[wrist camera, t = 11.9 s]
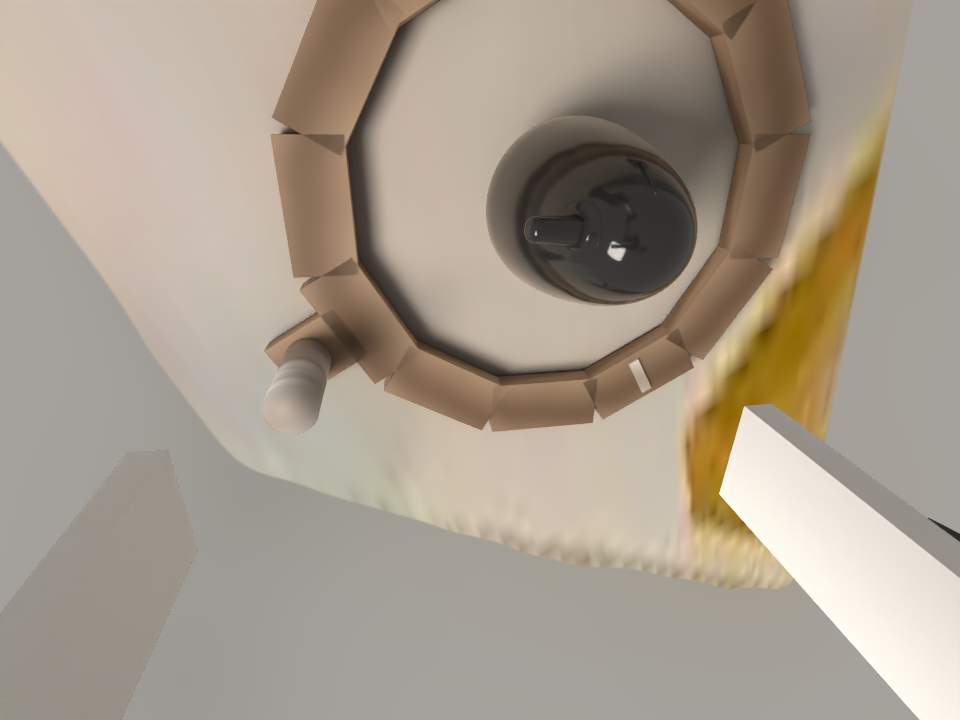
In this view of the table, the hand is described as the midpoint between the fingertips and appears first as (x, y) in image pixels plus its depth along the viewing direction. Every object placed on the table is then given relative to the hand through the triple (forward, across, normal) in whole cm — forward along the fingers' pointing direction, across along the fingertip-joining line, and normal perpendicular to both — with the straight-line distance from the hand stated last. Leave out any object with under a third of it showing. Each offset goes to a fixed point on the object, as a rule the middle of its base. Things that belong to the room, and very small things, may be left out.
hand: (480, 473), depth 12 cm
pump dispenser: (+25, +9, +3) cm, 26 cm away
